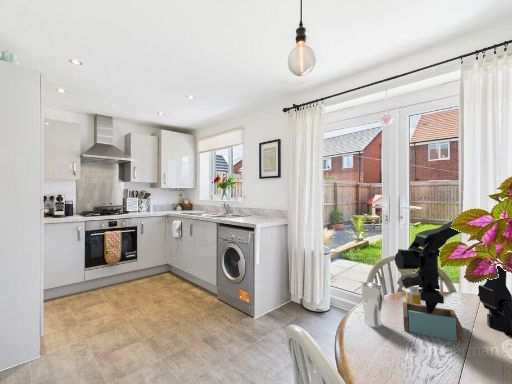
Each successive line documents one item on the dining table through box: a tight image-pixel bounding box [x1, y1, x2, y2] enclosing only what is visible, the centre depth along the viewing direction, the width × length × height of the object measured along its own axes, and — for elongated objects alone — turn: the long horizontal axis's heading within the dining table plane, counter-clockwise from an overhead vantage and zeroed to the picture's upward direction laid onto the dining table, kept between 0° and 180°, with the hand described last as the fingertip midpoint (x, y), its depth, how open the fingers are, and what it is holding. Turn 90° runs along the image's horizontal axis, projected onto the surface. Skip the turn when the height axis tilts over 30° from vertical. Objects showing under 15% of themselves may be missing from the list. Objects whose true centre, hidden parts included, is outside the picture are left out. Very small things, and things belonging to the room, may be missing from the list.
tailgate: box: [408, 310, 458, 342], centre depth 85 cm, size 13×1×7 cm, turn 61°
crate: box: [402, 301, 464, 343], centre depth 90 cm, size 16×13×6 cm
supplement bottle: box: [405, 285, 422, 305], centre depth 108 cm, size 5×5×10 cm
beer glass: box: [361, 281, 384, 329], centre depth 94 cm, size 7×7×15 cm
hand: (429, 313), depth 89 cm, fingers closed
